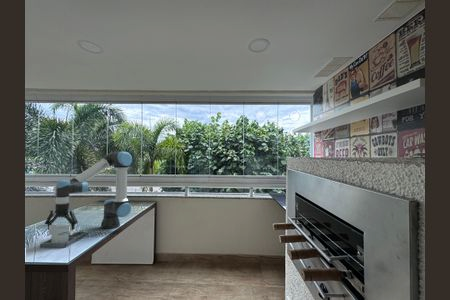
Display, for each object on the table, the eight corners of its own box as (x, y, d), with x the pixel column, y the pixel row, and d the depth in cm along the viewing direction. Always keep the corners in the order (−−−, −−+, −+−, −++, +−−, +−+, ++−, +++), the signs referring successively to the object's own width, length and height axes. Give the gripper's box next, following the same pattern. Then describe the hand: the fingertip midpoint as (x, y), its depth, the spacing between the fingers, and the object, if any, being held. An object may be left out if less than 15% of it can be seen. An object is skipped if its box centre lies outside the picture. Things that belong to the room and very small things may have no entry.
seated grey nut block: (78, 237, 173) (78, 231, 174) (71, 239, 167) (71, 234, 168) (71, 236, 174) (71, 231, 175) (64, 239, 169) (64, 233, 169)
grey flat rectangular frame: (66, 234, 178) (66, 231, 178) (87, 234, 178) (87, 231, 178) (39, 247, 151) (40, 243, 151) (65, 247, 151) (65, 243, 152)
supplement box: (56, 246, 153) (57, 227, 154) (50, 244, 157) (52, 225, 157) (68, 243, 159) (69, 224, 160) (63, 241, 163) (64, 223, 164)
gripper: (84, 202, 164) (83, 232, 163) (47, 201, 163) (45, 232, 162) (78, 204, 156) (76, 236, 156) (39, 203, 155) (37, 236, 154)
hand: (60, 234), depth 159 cm, fingers open, 13 cm apart
